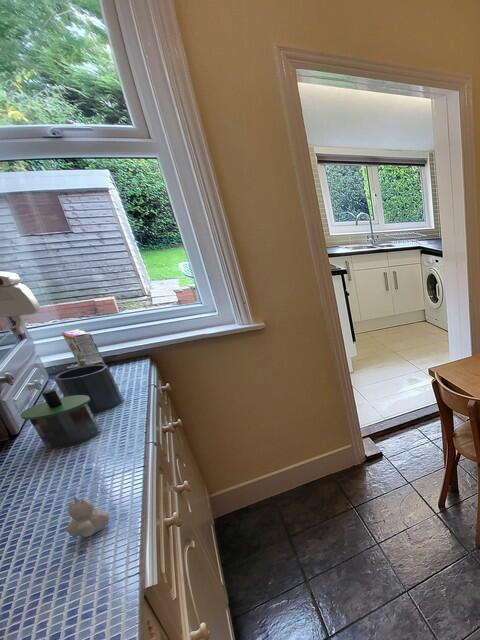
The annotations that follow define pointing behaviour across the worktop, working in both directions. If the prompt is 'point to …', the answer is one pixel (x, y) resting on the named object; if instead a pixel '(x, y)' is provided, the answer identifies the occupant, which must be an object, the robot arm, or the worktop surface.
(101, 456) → the worktop surface
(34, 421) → the cup
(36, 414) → the lid
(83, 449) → the worktop surface
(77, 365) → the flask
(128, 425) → the worktop surface
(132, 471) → the worktop surface
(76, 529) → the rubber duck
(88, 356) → the candy bar box
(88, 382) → the tin
